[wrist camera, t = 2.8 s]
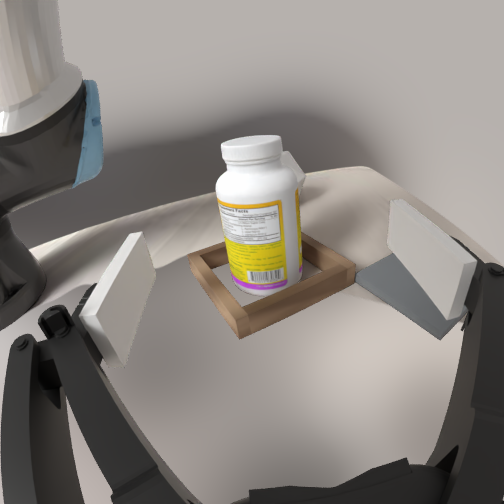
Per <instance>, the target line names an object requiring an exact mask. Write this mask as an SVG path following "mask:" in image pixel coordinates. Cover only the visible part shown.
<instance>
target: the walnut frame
mask: <svg viewBox="0 0 504 504" xmlns="http://www.w3.org/2000/svg"><path fill="white" fill-rule="evenodd" d="M301 245H302V257H303V258H305V259H306V260H308V261H309V262H311V263H312V264H313V265H315V266H316V267H318V268H319V269H321V270H322V271H323V272H321V273H319V274H316V275H314V276H312V277H310V278H308V279H305V280H303V281H301V282H299V283H297V284H294V285H292V286H290V287H288V288H285V289H283V290H281V291H279V292H276V293H274V294H272V295H269V296H267V297H265V298H263V299H260V300H258V301H256V302H253V303H251V304H249V305H246V306H244V307H241V306H240V305H239V303H238V302H237V301H236V300H235V298H234V297H233V296H232V295H231V294H230V292H229V291H228V290H227V289H226V288H225V286H224V285H223V284H222V283H221V282H220V280H219V279H218V278H217V277H216V275H215V274H214V273H213V272H212V270H211V269H213V268H216V267H219V266H221V265H224V264H227V263H229V259H228V254H227V249H226V243H225V242H222V243H219V244H216V245H213V246H210V247H208V248H205V249H202V250H199V251H196V252H193V253H190V254H188V255H187V256H188V259H189V263H190V267H191V271H192V273H193V274H194V275H195V277H196V278H197V280H198V281H199V283H200V284H201V286H202V287H203V289H204V290H205V291H206V293H207V294H208V296H209V297H210V299H211V300H212V302H213V303H214V304H215V306H216V307H217V309H218V310H219V312H220V313H221V314H222V316H223V317H224V319H225V320H226V321H227V323H228V324H229V326H230V327H231V328H232V330H233V331H234V333H235V334H236V335H237V337H238V338H239V339H242V338H244V337H246V336H248V335H251V334H252V333H255V332H257V331H259V330H261V329H264V328H266V327H268V326H270V325H272V324H274V323H276V322H279V321H281V320H283V319H285V318H287V317H289V316H291V315H293V314H295V313H297V312H299V311H301V310H303V309H305V308H307V307H309V306H311V305H313V304H315V303H317V302H319V301H321V300H323V299H325V298H327V297H329V296H331V295H333V294H335V293H337V292H339V291H340V290H342V289H344V288H346V287H348V286H350V285H352V284H354V279H355V267H356V264H354V263H352V262H351V261H349V260H348V259H346V258H344V257H343V256H341V255H339V254H338V253H336V252H334V251H333V250H331V249H329V248H328V247H326V246H324V245H323V244H321V243H319V242H318V241H316V240H314V239H313V238H311V237H309V236H308V235H306V234H304V233H302V232H301Z"/></svg>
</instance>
